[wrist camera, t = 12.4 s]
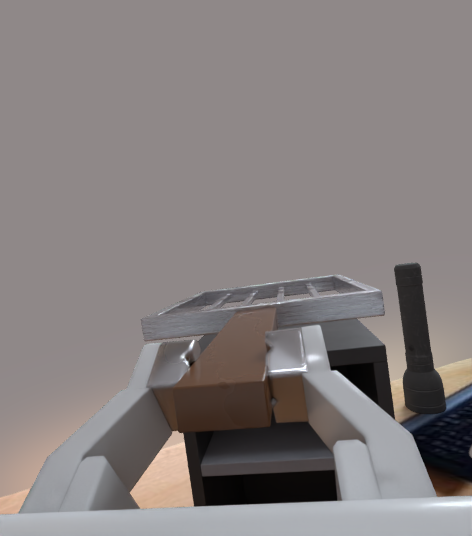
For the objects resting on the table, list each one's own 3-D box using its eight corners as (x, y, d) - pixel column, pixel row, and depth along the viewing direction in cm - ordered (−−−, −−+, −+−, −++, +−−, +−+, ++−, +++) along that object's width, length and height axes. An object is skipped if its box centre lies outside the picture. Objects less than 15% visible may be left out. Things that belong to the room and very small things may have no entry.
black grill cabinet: (431, 692, 26) (385, 345, 25) (203, 683, 28) (156, 367, 28) (375, 524, 42) (346, 309, 41) (232, 528, 44) (203, 325, 44)
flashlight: (398, 401, 72) (418, 416, 65) (380, 266, 71) (398, 267, 64) (431, 395, 72) (454, 410, 65) (413, 261, 72) (435, 261, 64)
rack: (539, 409, 6) (532, 346, 6) (-28, 448, 8) (-35, 397, 8) (341, 288, 29) (339, 274, 29) (202, 305, 31) (200, 291, 31)
